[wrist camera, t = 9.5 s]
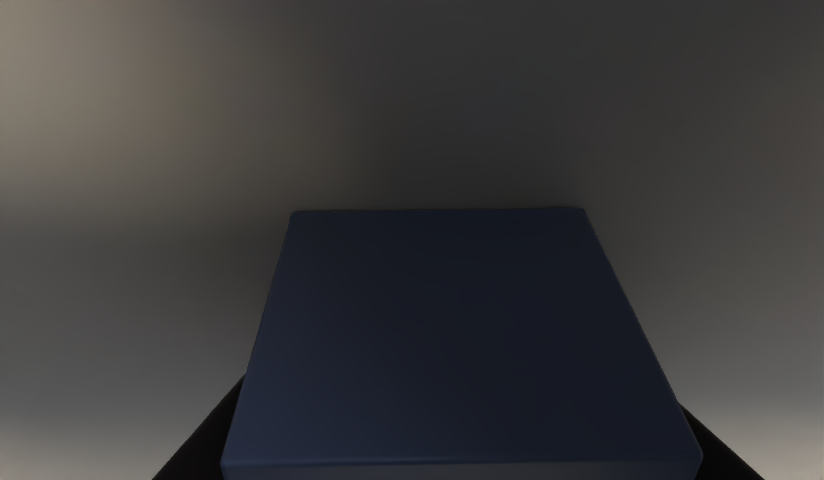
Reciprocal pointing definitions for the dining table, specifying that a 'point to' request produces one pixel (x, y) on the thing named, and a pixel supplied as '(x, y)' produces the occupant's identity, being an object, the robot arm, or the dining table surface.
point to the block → (452, 356)
